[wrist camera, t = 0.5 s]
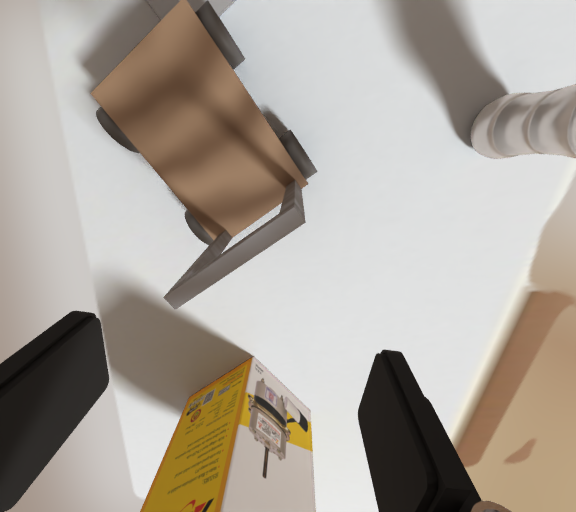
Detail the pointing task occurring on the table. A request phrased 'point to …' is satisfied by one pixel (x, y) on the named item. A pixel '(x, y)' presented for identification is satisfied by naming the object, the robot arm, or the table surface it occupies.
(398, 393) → the robot arm
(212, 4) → the mat
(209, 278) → the trolley
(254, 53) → the table surface
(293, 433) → the packaging box
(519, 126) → the plastic bottle
